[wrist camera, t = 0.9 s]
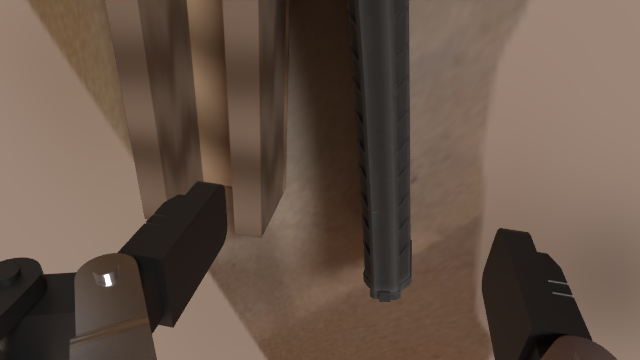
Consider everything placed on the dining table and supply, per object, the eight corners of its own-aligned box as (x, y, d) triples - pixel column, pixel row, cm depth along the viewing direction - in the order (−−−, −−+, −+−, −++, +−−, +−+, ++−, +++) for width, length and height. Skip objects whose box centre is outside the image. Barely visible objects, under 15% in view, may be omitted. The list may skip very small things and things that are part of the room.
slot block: (147, -174, 26) (67, -204, 20) (293, -167, 25) (255, -197, 19) (186, 173, 38) (145, 218, 32) (285, 188, 37) (261, 238, 31)
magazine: (411, 339, 31) (405, -247, 9) (365, 336, 31) (263, -218, 10) (411, 168, 42) (409, -268, 21) (378, 169, 43) (342, -254, 22)
